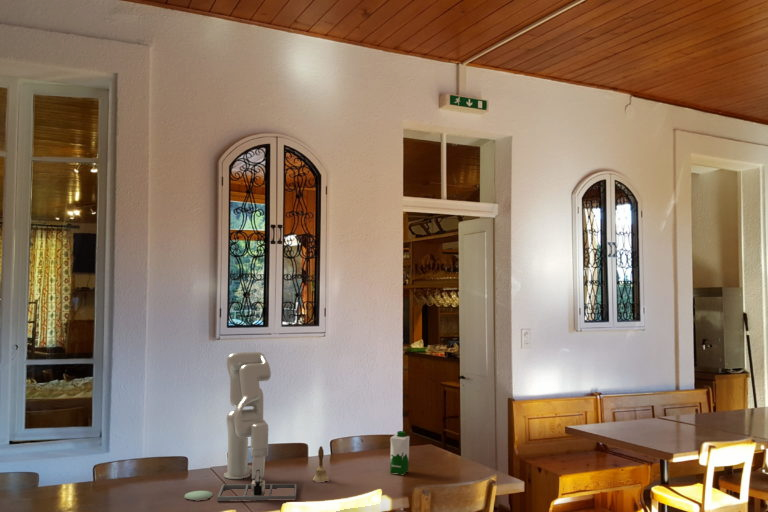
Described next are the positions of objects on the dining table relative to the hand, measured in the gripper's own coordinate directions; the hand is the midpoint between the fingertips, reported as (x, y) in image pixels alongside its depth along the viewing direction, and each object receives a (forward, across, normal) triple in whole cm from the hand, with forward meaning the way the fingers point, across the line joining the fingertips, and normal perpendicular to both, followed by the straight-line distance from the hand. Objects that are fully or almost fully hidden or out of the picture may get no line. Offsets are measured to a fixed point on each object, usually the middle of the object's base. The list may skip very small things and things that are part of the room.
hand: (258, 492), depth 308 cm
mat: (+2, 0, -26) cm, 26 cm away
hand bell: (+2, -23, +28) cm, 36 cm away
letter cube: (+1, 0, 0) cm, 1 cm away
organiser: (+2, 0, 0) cm, 2 cm away
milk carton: (+2, -33, +67) cm, 75 cm away
